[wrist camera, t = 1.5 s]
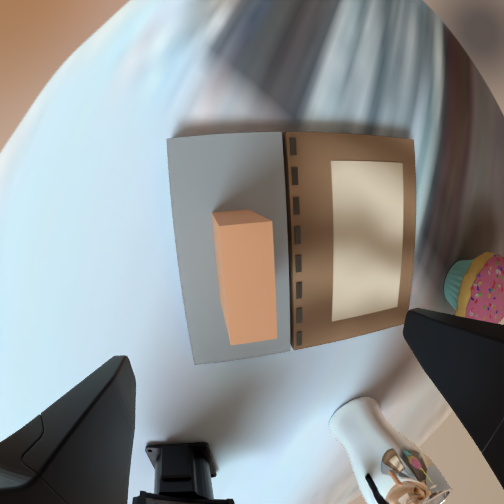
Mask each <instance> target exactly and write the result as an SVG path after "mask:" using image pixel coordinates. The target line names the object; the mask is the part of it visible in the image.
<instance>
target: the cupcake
mask: <svg viewBox="0 0 504 504" xmlns="http://www.w3.org/2000/svg"><path fill="white" fill-rule="evenodd" d="M444 295H445V298H446V300H447V301H448V302H449V303H450V304H451V305H452V307H453V308H454V309H455V316H460V317H465V318H471V319H476V320H481V321H486V322H491V323H497V324H498V323H499V322H500V321H501V319H502V318H503V317H504V257H501V256H500V255H499V254H495V253H491V252H485V253H483V254H481V255H480V256H478V257H476V258H475V259H472V260H460V261H458V262H456V263H455V264H454V265H453V266H452V267H451V268H450V270H449V272H448V274H447V276H446V279H445V283H444Z"/></svg>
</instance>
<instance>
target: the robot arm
mask: <svg viewBox="0 0 504 504" xmlns="http://www.w3.org/2000/svg"><path fill="white" fill-rule="evenodd" d="M403 336H404V338H405V340H406V342H407V343H408V345H409V347H410V348H411V350H412V351H413V353H414V355H415V356H416V358H417V360H418V361H419V363H420V365H421V366H422V368H423V369H424V371H425V372H426V374H427V375H428V376H429V378H430V379H431V380H432V382H433V383H434V384H435V386H436V387H437V389H438V390H439V391H440V393H441V394H442V395H443V397H444V398H445V400H446V401H447V402H448V404H449V405H450V407H451V408H452V410H453V411H454V412H455V414H456V415H457V417H458V418H459V419H460V421H461V423H462V424H463V425H464V427H465V428H466V430H467V431H468V433H469V434H470V436H471V437H472V439H473V440H474V442H475V443H476V445H477V446H478V448H479V450H480V451H481V452H482V455H483V456H484V458H485V459H486V461H487V462H488V464H489V466H490V467H491V469H492V471H493V472H494V474H495V476H496V477H497V479H498V480H499V482H500V484H501V485H502V487H503V489H504V325H501V324H497V323H491V322H486V321H481V320H476V319H471V318H465V317H460V316H455V315H450V314H445V313H440V312H435V311H430V310H425V309H421V308H415V309H411V310H409V311H408V312H407V313H406V317H405V323H404V329H403ZM135 401H136V380H135V376H134V373H133V370H132V367H131V364H130V361H129V358H128V357H127V356H125V355H123V356H113V357H112V358H111V359H109V360H108V361H107V362H106V363H104V364H103V365H102V366H100V367H99V368H98V369H97V370H95V371H94V372H93V373H92V374H90V375H89V376H88V377H86V378H85V379H84V380H83V381H81V382H80V383H79V384H77V385H76V386H75V387H74V388H72V389H71V390H70V391H69V392H67V393H66V394H65V395H63V396H62V397H61V398H60V399H58V400H57V401H56V402H55V403H53V404H52V405H51V406H49V407H48V408H47V409H46V410H44V411H43V412H42V413H41V415H38V416H37V417H35V418H34V419H33V420H32V421H30V422H29V423H28V424H26V425H25V426H24V427H22V428H21V429H20V430H18V431H17V432H15V433H14V434H12V435H11V436H9V437H8V438H6V439H5V440H3V441H1V442H0V504H127V499H128V486H129V475H130V465H131V455H132V447H133V439H134V431H135ZM145 451H146V453H147V455H148V457H149V459H150V461H151V463H152V465H153V467H154V469H155V485H154V494H153V493H147V492H146V491H140V496H138V497H134V498H133V503H132V504H235V503H234V501H233V499H227V500H224V499H214V497H213V490H212V482H211V478H212V477H216V470H215V467H214V463H213V460H212V456H211V453H210V449H209V446H208V444H207V443H205V442H200V443H188V444H173V445H148V446H146V448H145Z"/></svg>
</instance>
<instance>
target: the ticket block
mask: <svg viewBox="0 0 504 504" xmlns="http://www.w3.org/2000/svg"><path fill="white" fill-rule="evenodd" d="M282 144H283V158H284V175H285V192H286V211H287V233H288V260H289V294H290V344H291V346H292V348H293V349H294V350H298V349H303V348H308V347H313V346H317V345H322V344H327V343H331V342H336V341H340V340H344V339H348V338H353V337H357V336H361V335H365V334H368V333H372V332H376V331H380V330H383V329H387V328H391V327H394V326H398V325H401V324H404V323H405V317H406V313H407V312H408V309H409V301H410V293H411V284H412V274H413V263H414V249H415V228H416V173H415V153H414V140H411V139H403V138H395V137H385V136H374V135H362V134H346V133H325V132H285V133H283V134H282Z"/></svg>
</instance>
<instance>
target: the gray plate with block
mask: <svg viewBox="0 0 504 504" xmlns="http://www.w3.org/2000/svg"><path fill="white" fill-rule="evenodd" d="M167 154H168V169H169V182H170V194H171V205H172V215H173V225H174V234H175V243H176V251H177V259H178V266H179V274H180V281H181V288H182V295H183V301H184V308H185V314H186V320H187V326H188V332H189V337H190V343H191V348H192V354H193V359H194V364H195V365H198V364H207V363H215V362H223V361H231V360H238V359H245V358H252V357H258V356H264V355H270V354H276V353H282V352H287V351H290V294H289V260H288V233H287V211H286V192H285V175H284V158H283V144H282V132H249V133H228V134H212V135H199V136H188V137H178V138H169V139H167Z"/></svg>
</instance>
